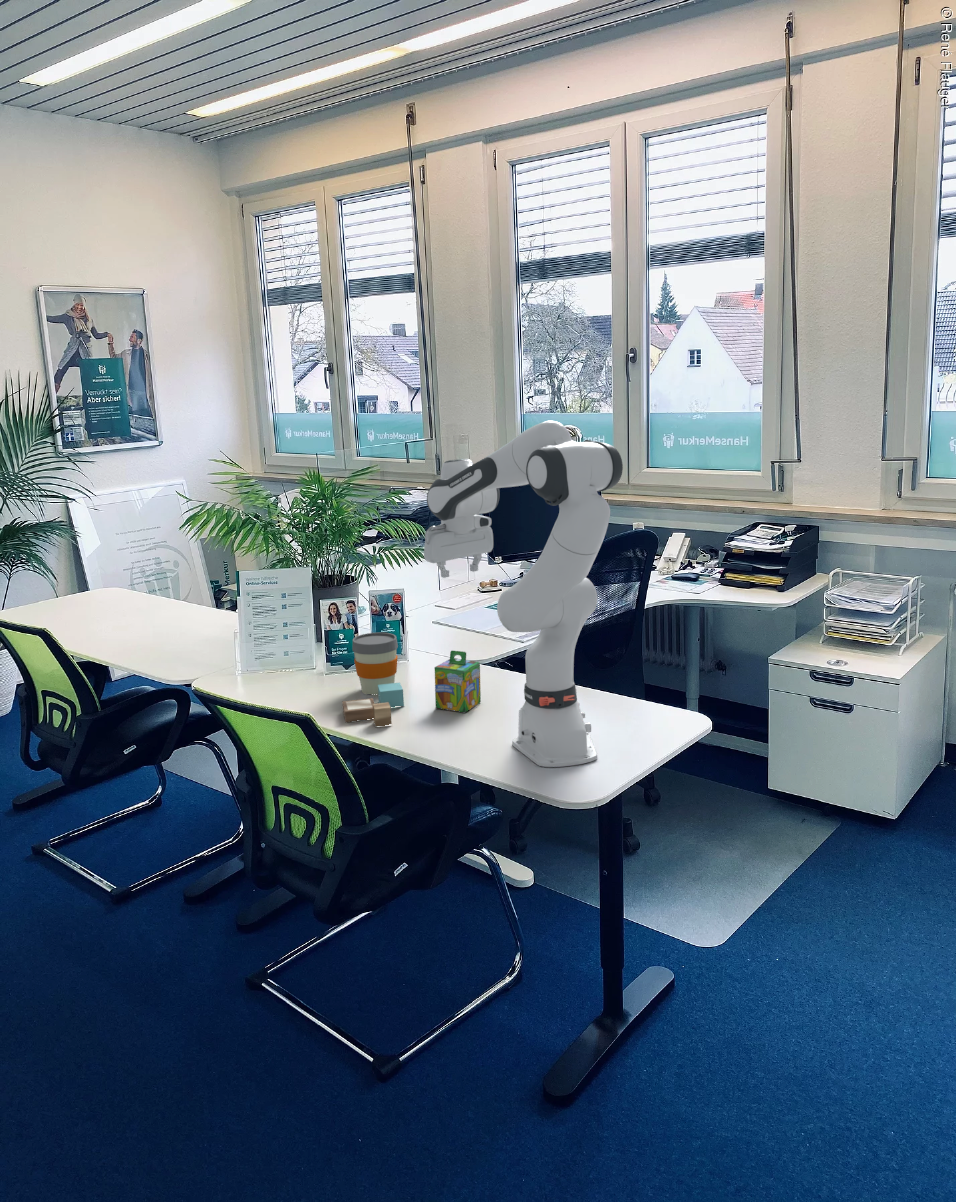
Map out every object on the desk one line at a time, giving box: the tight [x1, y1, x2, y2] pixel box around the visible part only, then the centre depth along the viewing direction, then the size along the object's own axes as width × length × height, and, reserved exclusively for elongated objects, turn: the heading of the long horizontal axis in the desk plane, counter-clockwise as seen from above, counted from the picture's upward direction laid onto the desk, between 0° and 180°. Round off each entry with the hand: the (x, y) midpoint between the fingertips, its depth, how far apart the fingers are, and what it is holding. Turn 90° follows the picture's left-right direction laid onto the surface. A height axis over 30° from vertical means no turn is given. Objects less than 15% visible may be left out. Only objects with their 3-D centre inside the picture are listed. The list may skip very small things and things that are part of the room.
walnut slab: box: [341, 697, 376, 723], centre depth 248 cm, size 8×8×3 cm
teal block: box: [377, 682, 405, 707], centre depth 256 cm, size 6×6×5 cm
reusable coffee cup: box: [351, 632, 399, 696], centre depth 266 cm, size 13×13×15 cm
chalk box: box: [434, 650, 482, 713], centre depth 251 cm, size 9×9×15 cm
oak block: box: [373, 702, 393, 726], centre depth 241 cm, size 4×4×5 cm
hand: (459, 574), depth 250 cm, fingers open, 8 cm apart
